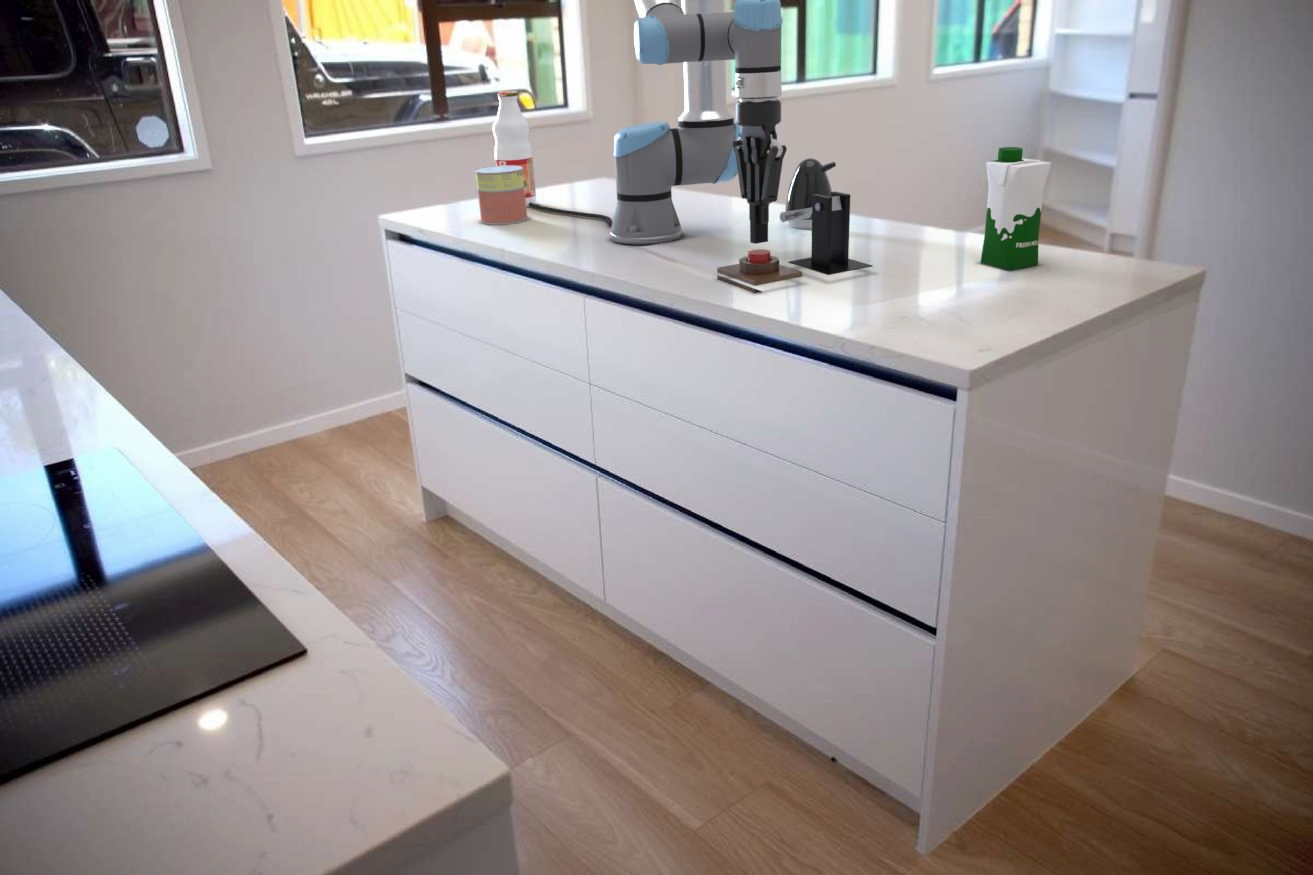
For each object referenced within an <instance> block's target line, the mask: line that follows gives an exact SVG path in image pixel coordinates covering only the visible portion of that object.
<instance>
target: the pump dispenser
mask: <svg viewBox="0 0 1313 875" xmlns="http://www.w3.org/2000/svg"><path fill="white" fill-rule="evenodd" d="M836 167H837V163H836V161H832V162H829V163H826V164H823V165H822V163H821V162H820V160H817V159H816V158H811V157H810V158H809V157H808V158H805V159H803V160H802V161H800V162H799V163H798V165H797V166H796V168H795V170H794V173H793V175H792V177H791V180H790V183H789V186H788V190H787V195H786V200H785V207H784V209H785V210H784V212H787V211H793V210H800V209H806V208H811V207H812V195H814V194H819V195H824V196H828V197H831V192H833V190H832V186H831V183H830V180H829V176H828V175H827V172H828V171H830V170H831V169H833V168H836ZM787 223H788V225H789V227H790V228H793V229H798V230H812V214H811V217H810V218H805V219H799V220H793V221H787Z"/></svg>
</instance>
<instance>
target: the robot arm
mask: <svg viewBox="0 0 1313 875" xmlns="http://www.w3.org/2000/svg"><path fill="white" fill-rule="evenodd" d="M634 3H635V7H636V10H637V13H638V16H639V17H638V18H637V19H635V22H634V24H633V25H634V27H633V43H634V44H633V45H634V49H635V56H636V60H637V61H638V62H640V63H641V64H643V65H659V66H662V65H665V64H666V65H667V64H680V63H682V64H683V88H684V91H683V92H684V110H683V112H682V113H680V116H678V117H677V122H678V124H677V125H678V127H675V128H671V126H670V124H669V122H667V121H654V122H645V123H641V124H635V125H631V126H628V127H625V128H623V129H621V130H619V131H618V132H616V134H615V135H614V138H613V158H614V168H615V189H616V206H615V210H614V214H613V219H612V218H611V217H610V216H608V215H604V214H600V213H599V214H598V213H590V212H582V211H573V210H567V209H562V208H555V207H549V206H544V205H540V204H537V203H536V204H534V203H531V202H530V203H529V206H530V207H531V208H533V209H536V210H541V211H544V212H549V213H555V214H562V215H566V216H567V215H568V216H574V217H575V216H576V217H583V218H592V219H599V220H603V221H606V222H607V223H608V225H609V226H610V240H611V241H612V242H614V243H618V244H622V245H638V246H641V245H642V246H644V245H645V246H646V245H658V244H663V243H669V242H673V241H676V240H679V239H680V238H681V237H682V236H683V235H682V234H683V233H682V225H681V222H680V218H679V216H678V214H677V210H676V208H675V205H674V203H673V199H672V198H673V196H672V187H676V186H677V187H678V186H689V185H690V186H693V185H702V184H703V185H704V184H713V185H715V184H717V183H725V182H730V181H732V180H734V179H735V178H736V176H737V178H738V184H739V190H740V197H741V198H742V199H745V200H746V203H747V204H748V206H749V207H748V211H749V218H748V219H749V242H750V243H751V244H755V245H757V244H762V243H768V242H769V221H770V218H769V217H770V204H772V203H775V202H777V201H778V198H779V195H778V194H779V189H780V184H781V174H782V169H783V161H784V158H785V155H786V152H787V146H786V145H785V144H782V145H781V144H780V143H779V141H777V140H778V134H777V130H776V126H777V125H778V124H780V123H781V122H782V102H781V100H780V99H779V98H780V97H781V96H782V93H783V92H782V25H783V17H782V5H781V4H782V3H781V0H736V1H735V2H734V7H733V11H728V12H726V11H725V0H634ZM733 60H734V67H735V68H734V73H735V81H734V84H735V97H736V99H739V100H738V101H736V103H735V116H734V114H733V113H732V112H731V111H730V110H728V107H727V72H726V71H727V69H726V61H733ZM530 207H529V208H530Z"/></svg>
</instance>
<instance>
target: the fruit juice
mask: <svg viewBox="0 0 1313 875" xmlns="http://www.w3.org/2000/svg"><path fill="white" fill-rule="evenodd" d="M518 97H519V94H518V91H517V90H502V91H497V98H498V100H499V106H498V111H497V115H496V118H495V120H494V122H493V124H492V133H493V136H494V139H495V146H494V160H495V166H521V167H523V179H524V189H525V199H526V208H530V206H529V203H530V202H531V203H534V204H537V192H536V190H537V189H536V180H535V171H534V170H535V169H534V160H533V159H534V158H533V151H532V150H533V149H532V145H531V143H530V140H529V136H530V125H529V122H528V120H527V119H526V118H525V116H524V115H523V113H522V111H521V108H520V106H519V103H518Z"/></svg>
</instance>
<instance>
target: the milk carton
mask: <svg viewBox="0 0 1313 875" xmlns="http://www.w3.org/2000/svg"><path fill="white" fill-rule="evenodd" d="M1023 149H1024V148H1023V147H1017V146H1016V147H1015V146H1008V147H1007V146H1004V147H999V148H998V153H997V159H996V160H991V161H986V163H985V164H986V165H985V166H986V174H987V184H988V191H987V203H986V204H987V206H986V215H985V226H984V229H985V230H984V237H983V244H982V250H981V255H980V256H981V257H980V262H979V263H980V264H983V265H986V266H990V267H995V268H998V269H1002V270H1006V271H1014V270H1018V269H1024V268H1029V267H1033V266H1038V265H1039V240H1040V239H1039V238H1040V229H1041V228H1040V227H1041V218H1042V208H1043V200H1044V191H1045V186H1046V182H1047V179H1048V176H1049V174H1050V170H1051V166H1052V162H1051V161H1043V160H1041V159H1032V158H1031V159H1030V158H1023V152H1024V150H1023Z"/></svg>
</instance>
